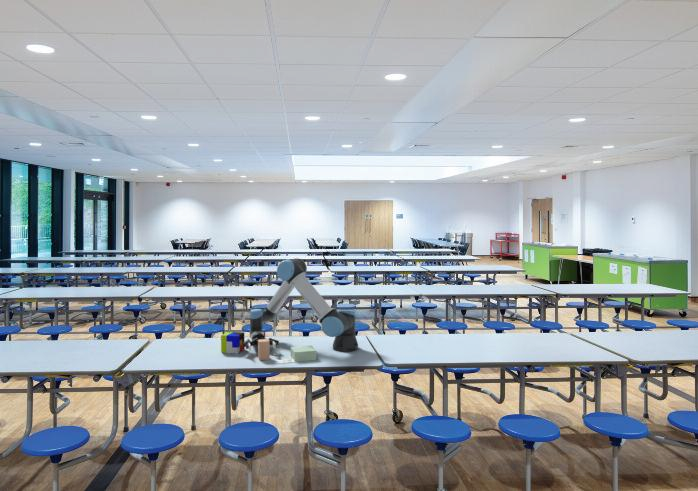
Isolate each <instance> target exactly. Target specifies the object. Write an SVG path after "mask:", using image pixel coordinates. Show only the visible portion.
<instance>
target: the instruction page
mask: <svg viewBox="0 0 698 491" xmlns="http://www.w3.org/2000/svg"><path fill="white" fill-rule="evenodd" d="M275 361H276V362H277V364H280V365H283V364H290V363H297V362H299V361H294V360H293V358H292V357H291V358H285V359H275Z"/></svg>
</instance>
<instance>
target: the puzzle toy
mask: <svg viewBox="0 0 698 491" xmlns="http://www.w3.org/2000/svg"><path fill="white" fill-rule="evenodd" d="M243 342H245V332H244V331H243V332H242V331H241V332H239V331H227V332H225V333H223V334H221V335H220V353H221V352H224V353H225V354H239V353H241V352H242V351H244V350H245V349H246V347H244V348H243Z"/></svg>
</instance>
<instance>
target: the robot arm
mask: <svg viewBox="0 0 698 491" xmlns="http://www.w3.org/2000/svg"><path fill="white" fill-rule="evenodd" d="M307 266H308V265H307V264H306V262H305V261H304V260H303V259H301V258H292V259H284V260H282V261H281V262H279V264H278V265H277V268H276V273H277V274H276V275H277V277H278V278H279V279H280V280H282V281H283V282H282V283H281V284H280V286H279V287H278V289H277V290H276V292H275V293H274V295H273V296H272V298H271V299H270V301H269V302H268V304H267V305H266V307H265V308H264V310H262V308H254V309H251V310H250V312H249V338H248V339H246V340H244V342H243V348H244V347H245V349H246V350H248V351H251V348H252V346H254V347H258V340H262V339H266V337H265V335H264V331H263V330H264V329H263V327H264V326H263V324H265V323H269V322H271V321H273V320H275V319H276V318H277V316H278V312H279V310H280V309H281V307H282V306H283V304H284V303H285V302H286V301H287V299H288V297H289V296H290V295H291V293H292V291H293V290H294V289H295V290H297V292H298V294H300V296H301V297H302V299H303V300H304V301H305V302H306V303H307V304H308V305H309V307H310V308H311V309H312V310H313V311H314V313H315V314H316V315H317V317H318V318H319V319H318V322H319V324H320V325H321V331H322V332H323V334H325V335H326V336H327V337H331V338H334V340H333V343H332V350H334V351H337V352H354V351H358V350H359V343H358V339H357V336H356V317H357V316H356V312H355V310H352V309H338V308H337V309H336V308H335V307H331V306H330V305H329V304H328V302H327V301H326V299H324V298H323V296H322V295H321V294H320V292H319V291H318V290H317V289H316V288H315V287H314V286H313V284H312V283H311V282H310V281H309V280H308V278H307V277H306V274H307V271H308V270H307V269H308V267H307ZM267 339H268V340H269V346H272V348H273V349H274V350H275V349H276V347H277V346H279V345H280V343H279V342H280V341H279V340H278V339H274V338H271V337H268V338H267Z"/></svg>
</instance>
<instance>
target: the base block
mask: <svg viewBox="0 0 698 491" xmlns="http://www.w3.org/2000/svg"><path fill="white" fill-rule="evenodd" d="M290 357H291V358H293V360H294V361H298V362H304V361H305V362H306V361H316V360H317V350H316V348H314V346H313V345H303V346H302V345H300V346H290Z"/></svg>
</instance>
